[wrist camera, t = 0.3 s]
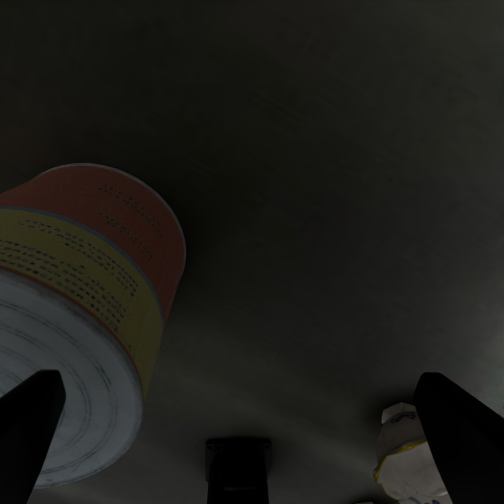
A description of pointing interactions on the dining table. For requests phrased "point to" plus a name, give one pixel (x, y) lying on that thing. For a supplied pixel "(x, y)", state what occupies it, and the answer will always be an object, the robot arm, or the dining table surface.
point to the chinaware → (407, 460)
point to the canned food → (87, 303)
